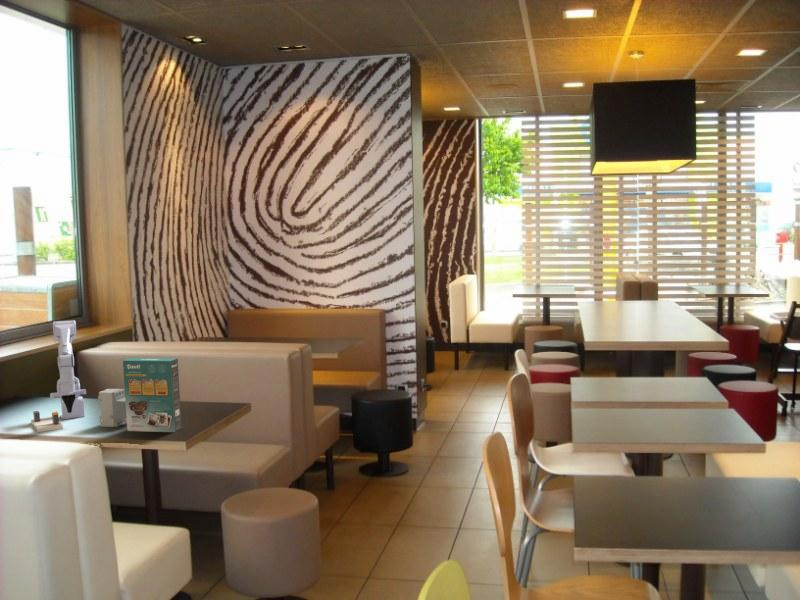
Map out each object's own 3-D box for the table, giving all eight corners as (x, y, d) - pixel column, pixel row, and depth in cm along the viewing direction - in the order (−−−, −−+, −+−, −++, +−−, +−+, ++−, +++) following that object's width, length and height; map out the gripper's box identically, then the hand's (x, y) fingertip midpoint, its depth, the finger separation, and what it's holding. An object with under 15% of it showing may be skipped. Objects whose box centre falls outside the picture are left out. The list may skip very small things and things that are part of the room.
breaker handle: (57, 421, 372) (56, 411, 372) (59, 423, 369) (58, 413, 368) (52, 422, 371) (51, 412, 371) (54, 424, 368) (53, 413, 367)
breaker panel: (55, 419, 384) (54, 407, 383) (62, 428, 367) (61, 416, 366) (31, 423, 379) (30, 411, 378) (37, 432, 362) (36, 419, 361)
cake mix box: (181, 428, 360) (177, 358, 357) (174, 432, 354) (170, 360, 351) (134, 427, 365) (130, 358, 362) (127, 430, 359) (122, 360, 356)
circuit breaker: (130, 427, 366) (128, 392, 364) (100, 426, 369) (97, 392, 367) (139, 422, 373) (137, 389, 372) (109, 422, 376) (107, 388, 374)
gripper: (51, 385, 364) (53, 416, 365) (86, 380, 372) (88, 411, 373) (48, 382, 370) (50, 413, 371) (83, 378, 378) (85, 408, 379)
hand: (69, 412), depth 373 cm, fingers closed
